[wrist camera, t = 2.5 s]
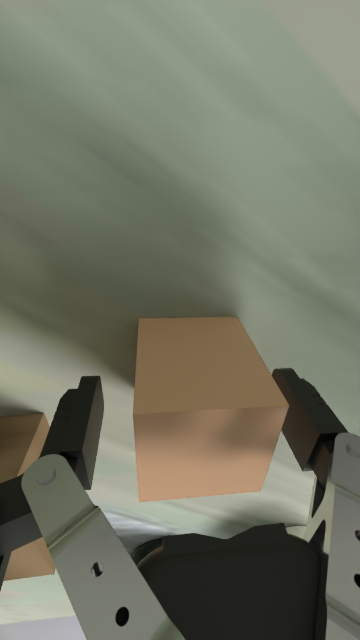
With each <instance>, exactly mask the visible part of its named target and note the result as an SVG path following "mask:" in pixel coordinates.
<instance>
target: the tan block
mask: <svg viewBox="0 0 360 640" xmlns="http://www.w3.org/2000/svg"><path fill="white" fill-rule="evenodd" d="M288 408H289V404H288V403H287V401H286V399H285V398H284V396H283V394H282V392H281V391H280V389H279V387H278V386H277V384H276V382H275V380H274V379H273V377H272V375H271V374H270V372H269V370H268V368H267V367H266V365H265V363H264V362H263V360H262V358H261V357H260V355H259V353H258V351H257V350H256V348H255V346H254V345H253V343H252V341H251V339H250V338H249V336H248V334H247V333H246V331H245V329H244V328H243V326H242V324H241V322H240V321H239V319H238V317H184V318H139V325H138V341H137V357H136V373H135V389H134V405H133V422H134V436H135V450H136V464H137V478H138V491H139V502H145V501H157V500H168V499H179V498H190V497H201V496H213V495H224V494H235V493H246V492H258V491H261V489H262V486H263V483H264V480H265V477H266V474H267V471H268V468H269V465H270V462H271V459H272V456H273V453H274V450H275V447H276V444H277V441H278V438H279V435H280V432H281V429H282V426H283V423H284V420H285V417H286V414H287V411H288Z"/></svg>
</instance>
